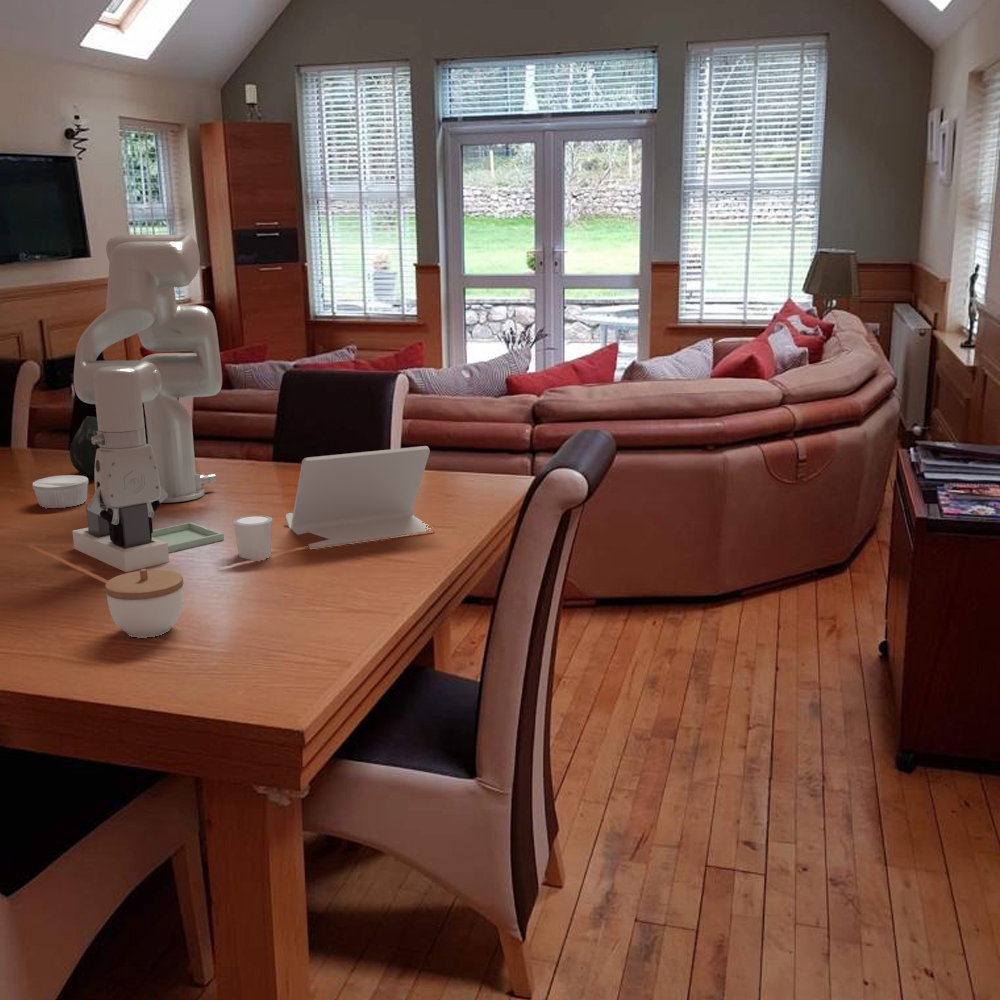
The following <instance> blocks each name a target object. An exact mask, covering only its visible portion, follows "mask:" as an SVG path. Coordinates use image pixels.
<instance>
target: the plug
mask: <svg viewBox="0 0 1000 1000" xmlns="http://www.w3.org/2000/svg"><path fill="white" fill-rule="evenodd" d="M119 523H120V524H122V529H123V539H124V545H123V546H118V545H116V546H118V547H121V548H123V549H127V548H131V547H136V546H140V545H145V544H149V543H151V541H150V530H149V519H148V508H147V503H144V504H139V505H133V506H128V507H123V508H120V517H119ZM114 545H115V544H114Z"/></svg>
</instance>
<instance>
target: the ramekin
mask: <svg viewBox="0 0 1000 1000" xmlns="http://www.w3.org/2000/svg"><path fill="white" fill-rule="evenodd" d="M88 485H89V478H88V477H87V476H84V475H74V474H73V475H72V474H67V475H65V474H64V475H63V474H62V475H53V476H48V477H44V478H39V479H36V480H35V481H33V482H32V489H33V490H34V493H35V498H36V501H37V503H38V504H39V506H40V507H41V506H42V507H41V508H43V507H45V508H44V509H47V508H64V509H66V508H65V507H71V506H76V505H79V506H81V505H80V504H82V505H84V504H85V503H86V501H87V498H88ZM84 502H85V503H84ZM76 507H77V506H76ZM71 508H72V507H71Z"/></svg>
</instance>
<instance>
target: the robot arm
mask: <svg viewBox="0 0 1000 1000" xmlns="http://www.w3.org/2000/svg"><path fill="white" fill-rule="evenodd" d="M198 246H199V245H198V244H197V241H196V240H195V239H194V238H193V237H192V236H190V235H187V234H141V233H140V234H139V233H138V234H136V233H135V234H133V233H132V234H119V235H115V236H112V237H111V238H109V239H108V240H107V242H106V245H105V252H106V256H107V259H108V262H109V263H108V264H109V265H108V280H107V290H106V303H105V305H106V306H105V310H104V311H103V312H101V314H100V315H98V316H97V317H96V318H95V319H94V320H93V321H92V322H91V323H90V324H89V326H87V328H86V329H85V330H84V331H83V332H82V334H81V336H80V337H79V340H78V342H77V344H76V348H75V357H74V367H73V387H74V392H75V395H76V396H77V397H78V399H79V400H80V401H82V402H83V403H86V404H89V405H95V408H96V409H95V412H96V417H97V422H98V431H97V435H96V436H94V437H92V438H91V441H92V444H97V445H99V446H100V448H99V449H97V451H96V458H95V477H94V491H95V492H94V494H93V495H92V497H91V499H90V500H89V503H88V504H89V505H88V504H87V505H88V506H87V509H88V510H89V511H91V512H93V513H95V514H97V515H99V516H100V517H102V518H103V519H104V520H105V521H107V522H108V523H109V533H110V540H111V541H112V542H113V544H115V545H118V546H123V545H124V539H123V529H122V524H120V523H119V517H120V508H123V507H128V506H133V505H139V504H144V503H147V508H148V519H149V530H150V540H151V539H152V533H153V530H154V529H153V528H154V527H153V517H154V516H155V512H156V511H157V510H158V508H159V507H160V505H161V503H162V504H165V503H170V504H171V503H181V502H187V501H192V500H196V499H197V500H198V499H200V498H202V497H203V496H204V495H205V488H203V487H202V486H204V485H205V484H212V483H216V482H217V476H216V474H215V473H209V474H199V473H197V471H196V461H195V449H194V435H193V422H192V421H193V420H192V416H191V415H190V414H191V413H190V412H189V411H188V409H187V408H186V406H184V405H183V404H182V403H181V401H180V400H179V399H183V398H204V397H205V398H206V397H213V396H216V395H218V394H219V393H220V391H221V390H222V386H223V372H222V364H221V363H222V362H221V355H220V345H219V336H218V330H217V323H216V320H215V316H214V313H213V312H212V311H211V310H210V309H209V308H208V307H206V306H203V305H197V304H195V305H193V304H192V305H191V304H190V305H183V304H182V305H181V304H178V303H177V300H176V292H175V288H185V287H188V285H190V284H191V283H192V281H193V280H194V278H195V277H196V276H197V274H198V273H199V269H200V263H201V262H200V261H201V257H200V256H201V255H200V249H199V247H198ZM136 334H138V338H139V342H140V343H141V345H142V347H143V348H144V349H146V350H148V351H152V352H160V353H152V354H148V355H146V356H144V357H142V358H141V359H140V360H137V359H133V360H131V359H129V360H128V359H127V360H119V359H118V360H116V359H115V360H97V359H98V357H99V356H100V354H101V353H103V351H104V350H106V349H107V348H109V347H110V346H112V345H114V344H115V343H118V342H120V341H123V340H125V339H127V338H129V337H132V336H134V335H136ZM161 352H162V353H161ZM163 352H165V353H163ZM166 352H167V353H166ZM143 406H144V407H143ZM144 415H145V416H144ZM145 425H146V426H145ZM145 427H146V428H145ZM146 436H147V437H146ZM100 504H102V505H106V506H107V507H106V510H104V509H102V508H100Z"/></svg>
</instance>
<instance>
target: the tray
mask: <svg viewBox="0 0 1000 1000" xmlns="http://www.w3.org/2000/svg"><path fill="white" fill-rule="evenodd" d="M152 537H153V538H156V539H159V540H161V541H164V542H166V543H168V554H169V553H170V554H171V553H174V552H179V551H183V550H187V549H192V548H196V547H200V546H203V545H204V546H205V545H207V544H208V545H209V544H213V543H216V542H221V541H224V540H225V534H224V533H223V532H220V531H217V530H215V529H212V528H209V527H207V526H203V525H202V524H201V525H200V524H198V523H195V522H191V521H190V522H189V521H188V522H185V523H184V522H183V523H180V524H175V525H171V526H165V527H162V528H156V529H153V533H152Z"/></svg>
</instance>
